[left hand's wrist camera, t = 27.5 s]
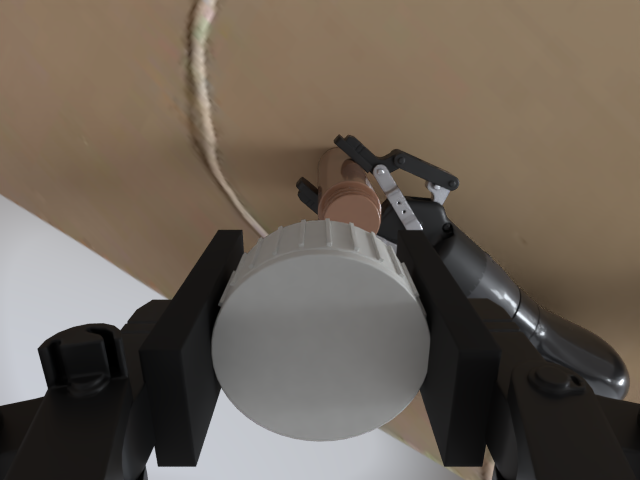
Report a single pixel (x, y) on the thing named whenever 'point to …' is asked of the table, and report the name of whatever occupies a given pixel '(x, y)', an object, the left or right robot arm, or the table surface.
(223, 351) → the lid
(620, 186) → the table surface
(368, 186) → the jar
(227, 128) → the table surface
